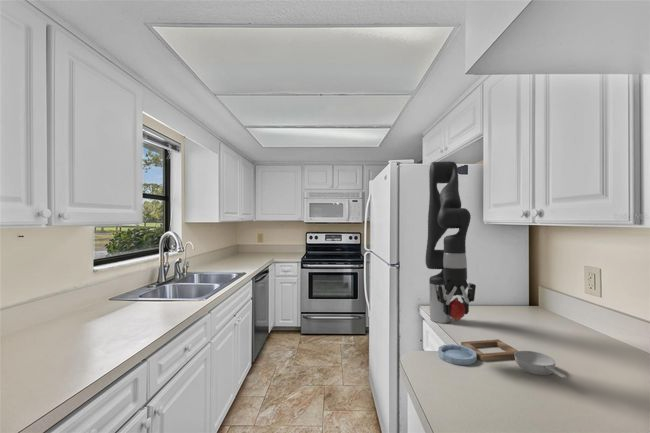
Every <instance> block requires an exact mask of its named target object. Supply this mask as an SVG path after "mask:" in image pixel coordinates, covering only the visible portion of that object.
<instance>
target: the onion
mask: <svg viewBox="0 0 650 433" xmlns="http://www.w3.org/2000/svg"><path fill="white" fill-rule="evenodd" d="M449 305H450V316H451V319H453V320H454V321H456V322H457V321H458V322H459V321H460V320H461V319H463V317H465V315H466V314H465V307H464V305H463V304H462V302H461V301H460V300H459V297H455V298H453V300H452V299H451V302H450V303H449Z"/></svg>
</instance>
